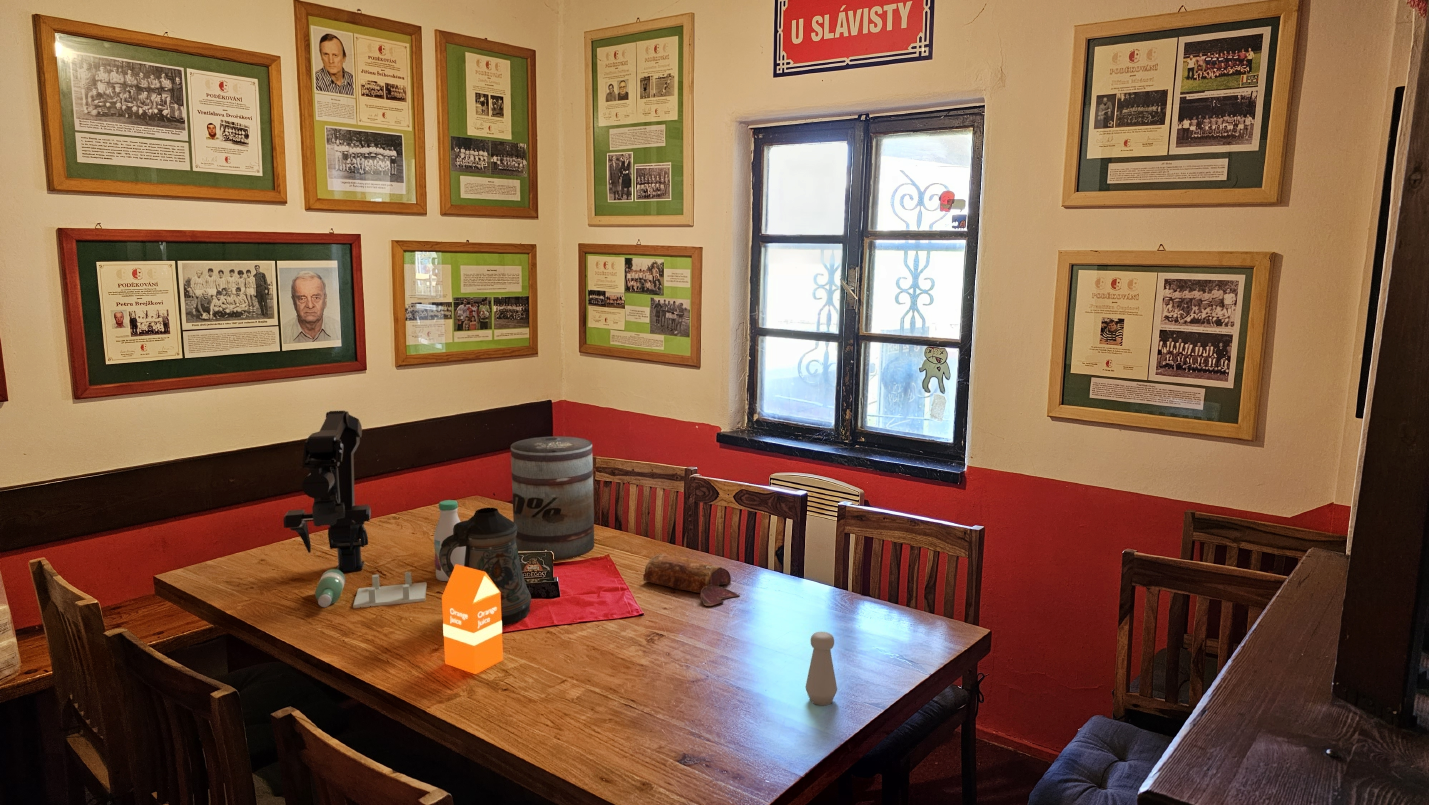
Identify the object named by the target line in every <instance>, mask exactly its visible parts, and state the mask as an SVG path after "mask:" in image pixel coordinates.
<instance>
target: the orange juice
mask: <svg viewBox="0 0 1429 805" xmlns="http://www.w3.org/2000/svg"><path fill="white" fill-rule="evenodd" d="M500 593H501V592H500V591H499V590H498V588H497V587H496V586H495V584H494V583H493V582H492V580H491V579H490V578H489V576H488V575H487V574H486V572H483V571H480V570H476V569H472V568H468V567H464V566H461V565H457V564H456V565H455V567H454V570H453V572H452V574H451V577H450V579H449V581H447V583H446V586H445V589H444V592H443V594H442V595H441V604H442V607H441V609H442V622H443V623H442V631H443V633H442V634H443V644H444V646H443V649H444V662H445V665H449V666H451V667H454V668H456V669H459V670H463V671H465V672H468V673H471V674H474V675H477V674H478V673H481V672H483V671H484V670H487V669H488V668H490V667H492V666H495V665H496V664H497V663H500V662H502V661H503V660H504V655H503V654H504V653H503V648H504V647H503V626H502V620H501V597H500Z"/></svg>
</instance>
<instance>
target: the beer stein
mask: <svg viewBox="0 0 1429 805" xmlns="http://www.w3.org/2000/svg"><path fill="white" fill-rule="evenodd" d="M517 529H518V528H517V526H516V524H515V523H514V522H513V520H511V519H509V518H508V517H507V516H505V515H503V514H502V513H500V511H499V509H498V508H496V507H483V508H479V509H477V510H475V512H474V514H473V515H472V516H471V517H470V518H469V519H467V520H462V521H461V522H459V523H457V524H456V525H454V528H453V535H451V536H448V537H447V538H446V539H445V540H444V541H443V542H442V544H441V548H440V552H439V561H440V565H441V567H442V569H443V571H444V572H445V574H446V575H447V576H448V577H449V578H450V577H451V574H452V572H453V570H454V566H453V564H452V563H451V559H450V557H451V554H452V551H453V550H454V549H455V548H457V547H464V546H466V551H465V561H464V567H468V568H472V569H476V570H480V571H483V572H486V574H487V575H488V576H489V578H490V579H491V580H492V582H493V583H494V584H495V586H496V587H497V588H498V590H499V591H500V592H501V593H500V597H501V620H502V627H506V626H510V625H513V624H515V623H519V622H521V621H523V620H524V619H526V618H527V617H528V615H529V614H530V608H531V602H532V595H531V592H530V591H529V589H528V587H527V583H526V581H525V578H524V577H525V576H524V574H523V571H522V565H521V562H520V557H519V555H518V550H517V546H516V540H515V537H516V535H517ZM504 625H505V626H504Z"/></svg>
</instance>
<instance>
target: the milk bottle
mask: <svg viewBox="0 0 1429 805" xmlns="http://www.w3.org/2000/svg"><path fill="white" fill-rule="evenodd" d="M458 507H459V506H458V501H457V500H452V499H448V500H442V501H440V502H439V503H438V511H439V517H438V521H437V523H436V526H435V528H434V529H435V530H434V536H433V538H434V541H433V543H434V561H435V562H434V566H435V577H436V579H437V580H438V581H441V582H448V581H449V579H450V578H449V577H448V576H447V575H446V574H445V572H444V571H443V569H442V567H441V565H440V561H439V552H440V548H441V544H442V542H443V541H444V540H445V539H446V538H447V537H448V536H451V535H453V528H454V525H456V524H457V523H459V522H462V521H461V520H460V518H459V515H458V510H459V509H458ZM465 551H466V546H464V547H457V548H455V549H454V550H453V551H452V554H451V557H450V559H451V563H452V564H453V566H454V567H455V565H456V564H457V565H461V566H464V561H465Z"/></svg>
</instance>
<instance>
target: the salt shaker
mask: <svg viewBox="0 0 1429 805" xmlns="http://www.w3.org/2000/svg"><path fill="white" fill-rule="evenodd" d="M810 646H811V647H812V648H813V649H812V653H811V659H810V665H809V668H808V673H807V678H806V683H805V691H806V693H807V696H808V699H809V700H810V701H811V703H812V704H813V705H818V706H822V707H824V706H827V705H830V704H832V702H833V700H834V698H835V696H836V694H837V691H838V687H837V686H838V685H837V680H836V674H835V669H834V668H835V667H834V664H833V656H832V651H831V650H832V649H833V648H834V646H835V637H834V636H833V635H832V634H831V633H829V632H826V631H816V632H813V633H812V635H811V637H810Z"/></svg>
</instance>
